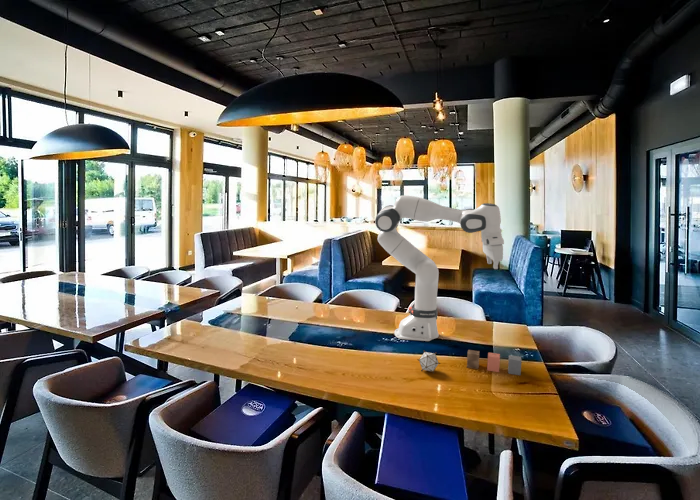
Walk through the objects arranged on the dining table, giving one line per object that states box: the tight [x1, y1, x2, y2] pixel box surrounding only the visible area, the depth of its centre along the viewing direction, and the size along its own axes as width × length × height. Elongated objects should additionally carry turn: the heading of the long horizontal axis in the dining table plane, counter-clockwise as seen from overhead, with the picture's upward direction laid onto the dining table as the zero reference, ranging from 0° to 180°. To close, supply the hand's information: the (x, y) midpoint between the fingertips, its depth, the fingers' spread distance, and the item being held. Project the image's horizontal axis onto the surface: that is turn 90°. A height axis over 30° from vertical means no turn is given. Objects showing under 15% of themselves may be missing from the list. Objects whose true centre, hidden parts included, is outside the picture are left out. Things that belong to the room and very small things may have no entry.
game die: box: [416, 350, 442, 374], centre depth 158 cm, size 9×8×10 cm
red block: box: [486, 352, 501, 373], centre depth 161 cm, size 4×4×6 cm
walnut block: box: [466, 349, 480, 370], centre depth 164 cm, size 4×4×6 cm
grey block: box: [507, 354, 522, 376], centre depth 158 cm, size 4×4×6 cm
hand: (492, 266), depth 187 cm, fingers open, 8 cm apart
